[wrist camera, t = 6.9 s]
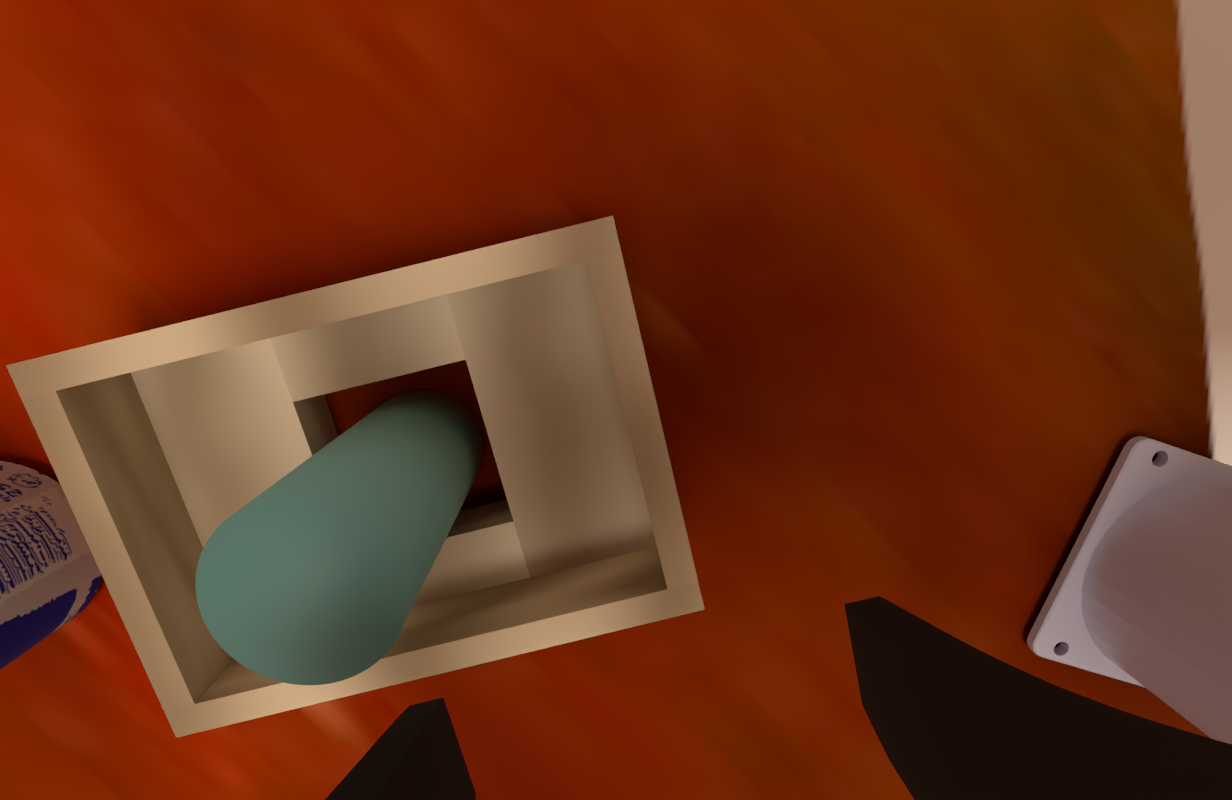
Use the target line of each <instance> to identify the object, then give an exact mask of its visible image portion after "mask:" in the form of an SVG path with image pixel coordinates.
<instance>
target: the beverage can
mask: <svg viewBox="0 0 1232 800" xmlns="http://www.w3.org/2000/svg"><path fill="white" fill-rule="evenodd" d="M101 577H102V574H101V572H100V570H99V568H98V566H97V563H96V561H95V559H94V557H93V555H92V552H91V550H90V548H89V546H88V544H87V542H86V539H85V537H84V535H83V533H82V531H81V528H80V526H79V524H78V522H77V520H76V517H75V515H74V513H73V511H72V509H71V507H70V504H69V502H68V500H67V498H66V496H65V493H64V491H63V489H62V487H61V485H60V484H59V483H57V482H56V481H55V480H53V479H51V478H50V477H48V476H46V475H44V474H42V473H40V472H38V471H36V470H34V469H31V468H28V467H25V466H23V465H19V464H15V463H11V462H4V461H0V669H2V668H3V667H5V666H6V665H7V664H9V663H10V662H12V661H13V660H14V659H16V658H17V657H19V656H20V655H22V654H23V653H24V652H26V651H27V650H29V649H30V648H31V647H33V646H34V645H36V644H37V643H38V642H40V641H41V640H43V639H44V638H45V637H47V636H48V635H50V634H51V633H53V632H54V631H55V630H57V629H58V628H60V627H61V626H62V625H64V624H65V623H67V622H68V621H69V620H71V619H72V618H74V617H75V616H76V615H77V614H79V613H80V612H81V611H82V610H83V609H84V608H85V607H86V606H87V605H88V604H89V602H90V601H91V600H92V598H93V596H94V595H95V593H96V591H97V589H98V586H99V584H100V580H101Z"/></svg>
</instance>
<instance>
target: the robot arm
mask: <svg viewBox="0 0 1232 800" xmlns="http://www.w3.org/2000/svg"><path fill="white" fill-rule="evenodd" d="M1157 452H1158V455H1157V458H1156V459H1155V460H1154V461H1153V462H1152V458H1153V456H1154V454H1155V453H1157ZM845 609H846V615H847V620H848V626H849V632H850V637H851V643H852V648H853V654H854V660H855V665H856V671H857V677H858V682H859V688H860V694H861V699H862V705H863V707H864V709H865V711H866V713H867V715H868V717H869V719H870V721H871V724H872V726H873V728H874V730H875V732H876V734H877V736H878V738H879V740H880V742H881V744H882V746H883V748H884V750H885V752H886V754H887V756H888V758H889V760H890V762H891V763H892V765H893V766H894V768H895V770H896V771H897V773H898V774H899V776H900V777H901V779H902V781H903V782H904V784H905V785H906V787H907V788H908V790H909V792H910V793H911V795H912V796H913V798H914V799H915V800H1232V466H1229V465H1227V464H1223V463H1221V462H1218V461H1215V460H1212V459H1209V458H1206V457H1203V456H1200V455H1197V454H1194V453H1192V452H1189V451H1186V450H1183V449H1180V448H1177V447H1174V446H1171V445H1168V444H1165V443H1162V442H1159V441H1156V440H1154V439H1150V438H1147V437H1143V436H1137V437H1134V438H1132V439H1130V440H1129V441H1128V442H1127V443H1126V445H1125V446H1124V448H1123V450H1122V451H1121V453H1120V455H1119V457H1118V459H1117V461H1116V463H1115V465H1114V467H1113V469H1112V471H1111V473H1110V475H1109V477H1108V479H1107V481H1106V483H1105V485H1104V487H1103V489H1102V491H1101V493H1100V495H1099V497H1098V499H1097V501H1096V503H1095V505H1094V507H1093V509H1092V511H1091V513H1090V515H1089V517H1088V519H1087V521H1086V523H1085V524H1084V526H1083V528H1082V530H1081V532H1080V534H1079V536H1078V538H1077V540H1076V542H1075V544H1074V546H1073V548H1072V550H1071V552H1070V554H1069V556H1068V558H1067V560H1066V562H1065V564H1064V566H1063V568H1062V570H1061V572H1060V574H1059V576H1058V578H1057V580H1056V582H1055V584H1054V586H1053V588H1052V590H1051V592H1050V594H1049V596H1048V597H1047V599H1046V601H1045V603H1044V605H1043V607H1042V609H1041V611H1040V613H1039V615H1038V617H1037V619H1036V621H1035V623H1034V625H1033V627H1032V629H1031V631H1030V633H1029V635H1028V638H1027V644H1028V646H1029V648H1030V649H1031V650H1032V651H1033V652H1034V653H1035V654H1036V655H1038V656H1040V657H1043V658H1046V659H1050V660H1053V661H1057V662H1060V663H1064V664H1067V665H1070V666H1074V667H1077V668H1081V669H1084V670H1087V671H1091V672H1094V673H1098V674H1101V675H1104V676H1108V677H1111V678H1115V679H1118V680H1122V681H1125V682H1128V683H1132V684H1135V685H1139V686H1142V687H1145V688H1147V689H1148V690H1149V691H1151V692H1152V693H1153V694H1154V695H1156V696H1157V697H1158V698H1160V699H1161V700H1162V701H1164V702H1165V703H1166V704H1167V705H1169V706H1170V707H1171V708H1173V709H1174V710H1175V711H1176V712H1178V713H1179V714H1180V715H1182V716H1183V717H1184V718H1186V719H1187V720H1188V721H1189V722H1191V723H1192V724H1193V725H1195V726H1196V727H1197V728H1198V729H1200V730H1201V731H1202V732H1204V733H1205V734H1206V735H1208V736H1209V737H1210V738H1211V739H1210V738H1207V737H1203V736H1200V735H1197V734H1193V733H1190V732H1187V731H1183V730H1180V729H1177V728H1174V727H1170V726H1167V725H1164V724H1160V723H1157V722H1154V721H1151V720H1148V719H1145V718H1142V717H1139V716H1136V715H1133V714H1130V713H1127V712H1124V711H1121V710H1118V709H1115V708H1113V707H1110V706H1107V705H1105V704H1102V703H1099V702H1097V701H1094V700H1091V699H1089V698H1086V697H1084V696H1081V695H1078V694H1076V693H1073V692H1070V691H1068V690H1065V689H1063V688H1060V687H1058V686H1056V685H1053V684H1051V683H1048V682H1046V681H1044V680H1042V679H1039V678H1037V677H1035V676H1033V675H1031V674H1028V673H1026V672H1024V671H1022V670H1020V669H1017V668H1015V667H1013V666H1011V665H1009V664H1006V663H1004V662H1002V661H1000V660H998V659H996V658H994V657H992V656H990V655H988V654H986V653H984V652H982V651H980V650H978V649H976V648H974V647H972V646H970V645H968V644H966V643H964V642H962V641H960V640H959V639H957V638H955V637H953V636H951V635H949V634H947V633H945V632H944V631H942V630H940V629H938V628H936V627H934V626H933V625H931V624H929V623H927V622H925V621H924V620H922V619H920V618H918V617H916V616H915V615H913V614H911V613H909V612H907V611H906V610H904V609H902V608H900V607H898V606H897V605H895V604H893V603H891V602H889V601H887V600H886V599H884V598H882V597H880V596H878V597H874V598H869V599H865V600H861V601H857V602H852V603H848V604H845ZM1059 642H1060V645H1059V646H1058V647H1056V648H1054V647H1055V645H1056V644H1057V643H1059ZM475 797H476V793H475V790H474V787H473V784H472V781H471V778H470V775H469V773H468V770H467V767H466V764H465V761H464V758H463V755H462V752H461V749H460V746H459V743H458V740H457V737H456V734H455V731H454V728H453V725H452V722H451V719H450V716H449V713H448V711H447V708H446V705H445V702H444V699H443V698H440V699H436V700H432V701H427V702H423V703H419V704H415V705H410V706H409V707H408V708H407V709H406V710H405V711H404V712H403V713H402V714H401V715H400V716H399V717H398V718H397V719H396V720H395V721H394V723H393V724H392V725H391V726H390V727H389V728H388V729H387V730H386V731H385V733H384V734H383V735H382V736H381V737H380V738H379V739H378V741H377V742H376V743H375V744H374V745H373V746H372V747H371V749H370V750H369V751H368V752H367V753H366V754H365V755H364V757H363V758H362V759H361V760H360V761H359V762H358V763H357V764H356V766H355V767H354V768H353V769H352V770H351V771H350V772H349V773H348V775H347V776H346V777H345V778H344V779H343V780H342V781H341V783H340V784H339V785H338V786H337V787H336V788H335V789H334V790H333V792H332V793H331V794H330V795H329V796H328V797H327V798H326V799H325V800H475Z"/></svg>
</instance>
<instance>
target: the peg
mask: <svg viewBox="0 0 1232 800" xmlns="http://www.w3.org/2000/svg"><path fill="white" fill-rule="evenodd" d="M483 456H484V440H483V435H482V432H481V428H480V426H479V424H478V422H477V420H476V419H475V417H474V416H473V414H472V413H471V412H470V411H469V409H468V408H467V407H465V406H464V405H463V404H462V403H461V402H459V401H458V400H457V399H455V398H453V397H451V396H450V395H447V394H445V393H442V392H438V391H435V390H428V389H417V390H410V391H406V392H402V393H400V394H397V395H395V396H393V397H392V398H390V399H388V400H387V401H386V402H384V403H383V404H382V405H380V406H379V407H378V408H376V409H375V410H373V411H372V412H371V413H369V414H368V415H367V416H365V417H364V418H363V419H361V420H360V421H359V422H357V423H356V424H355V425H353V426H352V427H350V428H349V429H348V430H346V431H345V432H344V433H342V434H341V435H340V436H338V437H337V438H336V439H334V440H333V441H332V442H330V443H329V444H327V445H326V446H325V447H323V448H322V449H321V450H319V451H318V452H317V453H315V454H314V455H313V456H311V457H310V458H308V459H307V460H306V461H304V462H303V463H302V464H300V465H299V466H298V467H296V468H295V469H294V470H292V471H291V472H290V473H288V474H287V475H285V476H284V477H283V478H281V479H280V480H279V481H277V482H276V483H275V484H273V485H272V486H271V487H269V488H268V489H267V490H265V491H264V492H262V493H261V494H260V495H258V496H257V497H256V498H254V499H253V500H252V501H250V502H249V503H248V504H246V505H245V506H244V507H242V508H241V509H239V510H238V511H237V512H235V513H234V514H233V515H231V516H230V517H229V518H228V519H226V520H225V521H224V522H223V523H222V524H221V525H220V526H219V527H218V528H217V529H216V530H215V531H214V532H213V534H212V535H211V536H210V538H209V539H208V541H207V542H206V544H205V546H204V548H203V550H202V552H201V555H200V558H199V561H198V565H197V571H196V580H195V590H196V597H197V603H198V606H199V610H200V613H201V616H202V618H203V620H204V623H205V625H206V627H207V628H208V630H209V632H210V633H211V635H212V636H213V638H214V639H215V640H216V641H217V643H218V644H219V645H220V647H222V648H223V649H224V650H225V651H226V652H227V653H228V654H229V655H230V656H231V657H232V658H233V659H235V660H236V661H237V662H239V663H240V664H241V665H243V666H245V667H246V668H248V669H250V670H251V671H253V672H255V673H257V674H260V675H262V676H264V677H267V678H270V679H273V680H276V681H279V682H284V683H289V684H296V685H323V684H330V683H335V682H339V681H343V680H345V679H348V678H351V677H353V676H356V675H358V674H359V673H361V672H363V671H365V670H367V669H368V668H370V667H371V666H372V665H374V664H375V663H377V662H378V661H379V660H380V659H381V658H382V657H383V656H384V655H385V654H386V653H387V652H388V650H389V649H390V648H391V647H392V645H393V644H394V642H395V640H396V639H397V637H398V635H399V634H400V631H401V629H402V627H403V625H404V623H405V621H406V619H407V617H408V615H409V613H410V611H411V609H412V607H413V605H414V603H415V601H416V599H417V597H418V595H419V593H420V591H421V589H422V586H423V584H424V582H425V580H426V578H427V576H428V574H429V572H430V570H431V568H432V566H433V564H434V562H435V560H436V558H437V556H438V554H439V552H440V550H441V548H442V546H443V544H444V541H445V539H446V537H447V535H448V533H449V531H450V529H451V527H452V525H453V523H454V521H455V519H456V517H457V515H458V513H459V511H460V509H461V507H462V505H463V503H464V501H465V499H466V496H467V494H468V492H469V490H470V488H471V486H472V484H473V482H474V480H475V478H476V476H477V474H478V472H479V470H480V467H481V465H482V461H483Z"/></svg>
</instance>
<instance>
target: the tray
mask: <svg viewBox="0 0 1232 800" xmlns="http://www.w3.org/2000/svg"><path fill="white" fill-rule="evenodd" d="M462 360H466V363H467V366H468V369H469V373H470V376H471V379H472V383H473V386H474V390H475V393H476V396H477V400H478V403H479V406H480V410H481V413H482V417H483V420H484V423H485V427H486V430H487V434H488V437H489V440H490V444H491V447H492V450H493V454H494V457H495V461H496V464H497V467H498V471H499V474H500V477H501V481H502V484H503V488H504V491H505V494H506V498H507V500H503V501H498V502H494V503H490V504H486V505H482V506H478V507H474V508H470V509H466V510H462V511H459V513H458V515H457V517H456V519H455V521H454V523H453V525H452V527H451V529H450V531H449V533H448V535H447V537H446V539H445V541H444V544H443V546H442V548H441V550H440V552H439V554H438V556H437V558H436V560H435V562H434V564H433V566H432V568H431V570H430V572H429V574H428V576H427V578H426V580H425V582H424V584H423V586H422V589H421V591H420V593H419V595H418V597H417V599H416V601H415V603H414V605H413V607H412V609H411V611H410V613H409V615H408V617H407V619H406V621H405V623H404V625H403V627H402V629H401V631H400V634H399V635H398V637H397V639H396V640H395V642H394V644H393V645H392V647H391V648H390V649H389V650H388V652H387V653H386V654H385V655H384V656H383V657H382V658H381V659H380V660H379V661H378V662H377V663H375V664H374V665H372V666H371V667H370V668H368V669H367V670H365V671H363V672H361V673H359V674H358V675H356V676H353V677H351V678H348V679H345V680H343V681H339V682H335V683H330V684H323V685H296V684H289V683H284V682H279V681H276V680H273V679H270V678H267V677H264V676H262V675H260V674H257V673H255V672H253V671H251V670H250V669H248V668H246V667H245V666H243V665H241V664H240V663H239V662H237V661H236V660H235V659H233V658H232V657H231V656H230V655H229V654H228V653H227V652H226V651H225V650H224V649H223V648H222V647H220V645H219V644H218V643H217V641H216V640H215V639H214V638H213V636H212V635H211V633H210V632H209V630H208V628H207V627H206V625H205V623H204V620H203V618H202V616H201V613H200V610H199V606H198V603H197V597H196V590H195V580H196V571H197V565H198V561H199V558H200V555H201V552H202V550H203V548H204V546H205V544H206V542H207V541H208V539H209V538H210V536H211V535H212V534H213V532H214V531H215V530H216V529H217V528H218V527H219V526H220V525H221V524H222V523H223V522H224V521H225V520H226V519H228V518H229V517H230V516H231V515H233V514H234V513H235V512H237V511H238V510H239V509H241V508H242V507H244V506H245V505H246V504H248V503H249V502H250V501H252V500H253V499H254V498H256V497H257V496H258V495H260V494H261V493H262V492H264V491H265V490H267V489H268V488H269V487H271V486H272V485H273V484H275V483H276V482H277V481H279V480H280V479H281V478H283V477H284V476H285V475H287V474H288V473H290V472H291V471H292V470H294V469H295V468H296V467H298V466H299V465H300V464H302V463H303V462H304V461H306V460H307V459H308V458H310V457H311V456H313V455H314V454H315V453H317V452H318V451H319V450H321V449H322V448H323V447H325V446H326V445H327V444H329V443H330V442H332V441H333V440H334V439H336V438H337V437H338V436H339V435H338V432H337V429H336V426H335V424H334V421H333V418H332V415H331V412H330V409H329V406H328V404H327V401H326V398H325V395H324V394H328V393H332V392H336V391H340V390H344V389H348V388H352V387H356V386H360V385H364V384H368V383H372V382H376V381H380V380H385V379H389V378H393V377H397V376H401V375H405V374H409V373H413V372H417V371H421V370H425V369H429V368H433V367H437V366H441V365H446V364H450V363H454V362H458V361H462ZM6 367H7V369H8V371H9V373H10V375H11V378H12V380H13V382H14V384H15V386H16V389H17V391H18V393H19V395H20V397H21V399H22V402H23V404H24V406H25V408H26V410H27V413H28V415H29V417H30V419H31V421H32V424H33V426H34V428H35V430H36V432H37V434H38V437H39V439H40V441H41V443H42V445H43V448H44V450H45V452H46V454H47V456H48V458H49V461H50V463H51V465H52V467H53V469H54V472H55V474H56V476H57V478H58V480H59V483H60V485H61V487H62V489H63V491H64V493H65V496H66V498H67V500H68V502H69V504H70V507H71V509H72V511H73V513H74V515H75V517H76V520H77V522H78V524H79V526H80V528H81V531H82V533H83V535H84V537H85V539H86V542H87V544H88V546H89V548H90V550H91V552H92V555H93V557H94V559H95V561H96V563H97V566H98V568H99V570H100V572H101V574H102V577H103V579H104V581H105V583H106V585H107V587H108V590H109V592H110V594H111V596H112V598H113V601H114V603H115V605H116V607H117V609H118V611H119V614H120V616H121V618H122V620H123V622H124V625H125V627H126V629H127V631H128V633H129V636H130V638H131V640H132V642H133V644H134V646H135V649H136V651H137V653H138V655H139V657H140V660H141V662H142V664H143V666H144V668H145V670H146V673H147V675H148V677H149V679H150V681H151V684H152V686H153V688H154V690H155V692H156V695H157V697H158V699H159V701H160V703H161V705H162V708H163V710H164V712H165V714H166V716H167V719H168V721H169V723H170V725H171V727H172V730H173V732H174V734H175V736H176V738H177V737H181V736H185V735H189V734H193V733H197V732H202V731H206V730H210V729H214V728H218V727H222V726H226V725H230V724H235V723H239V722H243V721H247V720H251V719H255V718H259V717H263V716H268V715H272V714H276V713H280V712H284V711H288V710H292V709H296V708H301V707H305V706H309V705H313V704H317V703H321V702H325V701H329V700H334V699H338V698H342V697H346V696H350V695H354V694H358V693H362V692H367V691H371V690H375V689H379V688H383V687H387V686H391V685H395V684H400V683H404V682H408V681H412V680H416V679H420V678H424V677H428V676H433V675H437V674H441V673H445V672H449V671H453V670H457V669H461V668H466V667H470V666H474V665H478V664H482V663H486V662H490V661H494V660H499V659H503V658H507V657H511V656H515V655H519V654H523V653H527V652H532V651H536V650H540V649H544V648H548V647H552V646H556V645H560V644H565V643H569V642H573V641H577V640H581V639H585V638H589V637H593V636H598V635H602V634H606V633H610V632H614V631H618V630H622V629H626V628H631V627H635V626H639V625H643V624H647V623H651V622H655V621H659V620H663V619H668V618H672V617H676V616H680V615H684V614H688V613H692V612H696V611H701V610H705V609H704V605H703V601H702V596H701V592H700V588H699V583H698V579H697V575H696V570H695V566H694V562H693V558H692V553H691V549H690V545H689V540H688V536H687V532H686V527H685V523H684V519H683V515H682V510H681V506H680V502H679V497H678V493H677V489H676V484H675V480H674V476H673V472H672V467H671V463H670V459H669V454H668V450H667V446H666V442H665V437H664V433H663V429H662V424H661V420H660V416H659V411H658V407H657V403H656V399H655V394H654V390H653V386H652V381H651V377H650V373H649V368H648V364H647V360H646V356H645V351H644V347H643V343H642V338H641V334H640V330H639V325H638V321H637V317H636V313H635V308H634V304H633V300H632V295H631V291H630V287H629V282H628V278H627V274H626V270H625V265H624V261H623V257H622V252H621V248H620V244H619V239H618V235H617V231H616V227H615V222H614V218H613V216H609V217H605V218H601V219H597V220H593V221H589V222H585V223H581V224H577V225H573V226H569V227H565V228H561V229H557V230H552V231H548V232H544V233H540V234H536V235H532V236H528V237H524V238H520V239H516V240H512V241H508V242H504V243H500V244H496V245H492V246H488V247H484V248H480V249H476V250H472V251H467V252H463V253H459V254H455V255H451V256H447V257H443V258H439V259H435V260H431V261H427V262H423V263H419V264H415V265H411V266H407V267H403V268H399V269H395V270H391V271H387V272H382V273H378V274H374V275H370V276H366V277H362V278H358V279H354V280H350V281H346V282H342V283H338V284H334V285H330V286H326V287H322V288H318V289H314V290H310V291H306V292H302V293H298V294H293V295H289V296H285V297H281V298H277V299H273V300H269V301H265V302H261V303H257V304H253V305H249V306H245V307H241V308H237V309H233V310H229V311H225V312H221V313H217V314H213V315H208V316H204V317H200V318H196V319H192V320H188V321H184V322H180V323H176V324H172V325H168V326H164V327H160V328H156V329H152V330H148V331H144V332H140V333H136V334H132V335H128V336H124V337H119V338H115V339H111V340H107V341H103V342H99V343H95V344H91V345H87V346H83V347H79V348H75V349H71V350H67V351H63V352H59V353H55V354H51V355H47V356H43V357H39V358H34V359H30V360H26V361H22V362H18V363H14V364H10V365H6Z"/></svg>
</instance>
